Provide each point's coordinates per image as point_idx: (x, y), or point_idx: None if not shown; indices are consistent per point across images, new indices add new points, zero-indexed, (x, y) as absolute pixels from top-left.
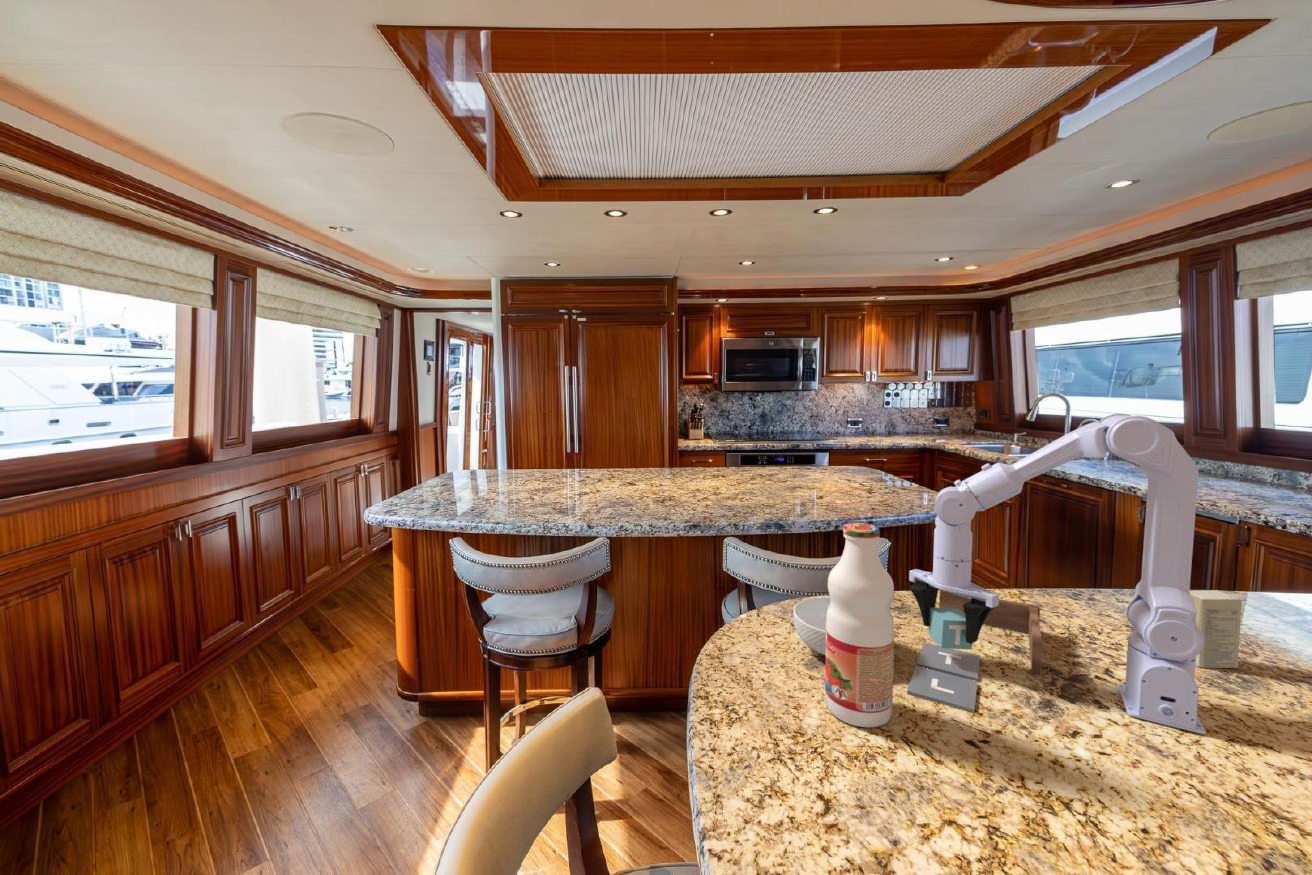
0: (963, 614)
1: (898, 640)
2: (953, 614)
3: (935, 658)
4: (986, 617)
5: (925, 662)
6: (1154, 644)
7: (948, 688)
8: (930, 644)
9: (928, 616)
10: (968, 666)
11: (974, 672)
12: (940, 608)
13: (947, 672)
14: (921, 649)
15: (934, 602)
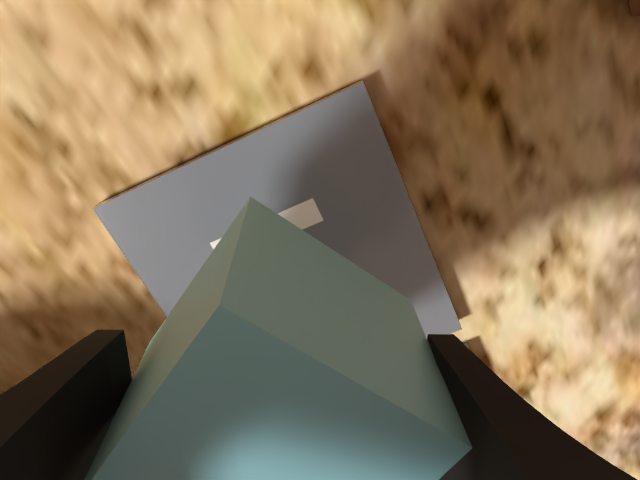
0: (335, 397)
1: (2, 266)
2: (281, 467)
3: None
4: (608, 464)
5: None
6: None
7: None
8: (129, 201)
9: (101, 442)
10: (384, 260)
11: (428, 289)
12: (126, 453)
13: None
14: (150, 291)
15: (16, 457)
